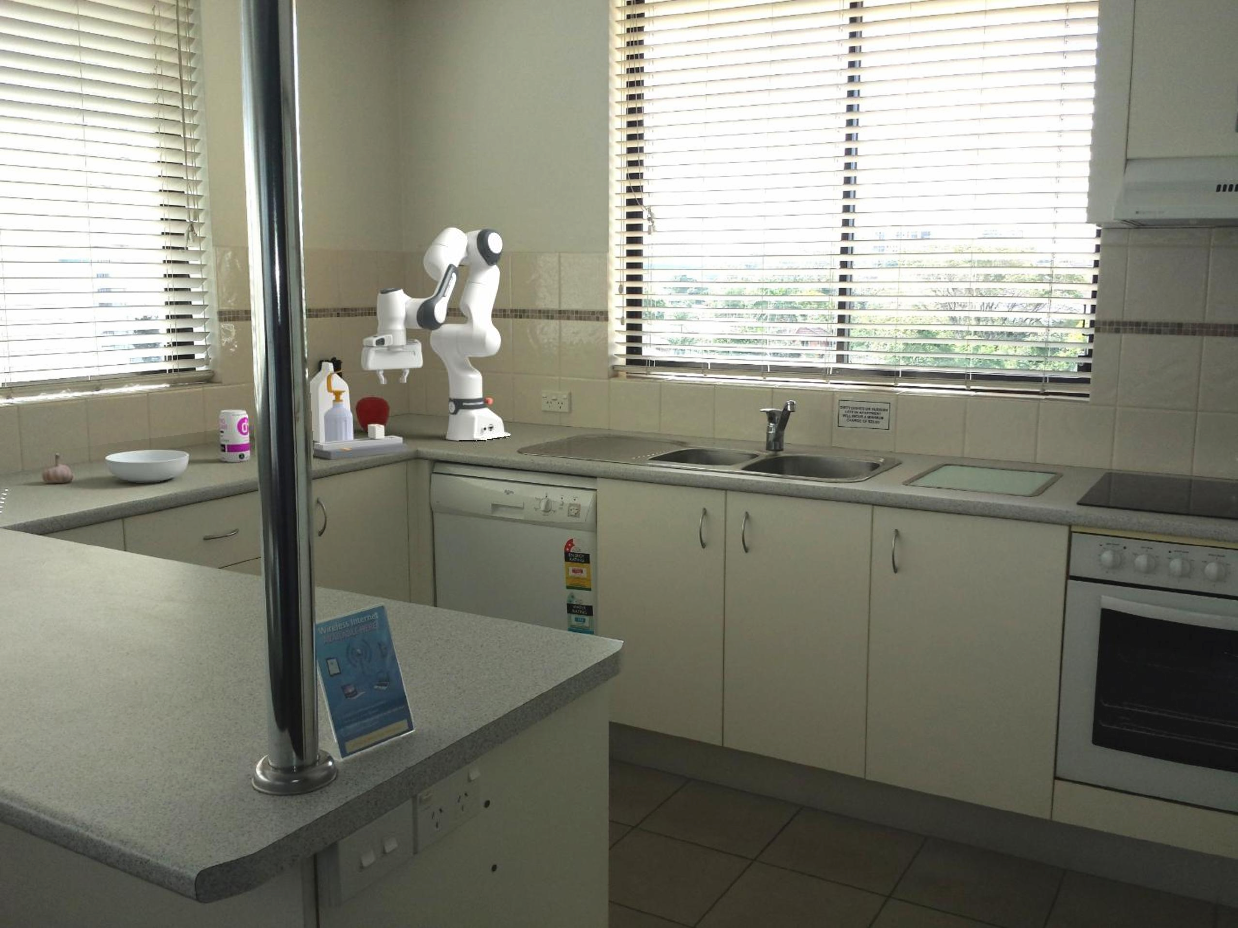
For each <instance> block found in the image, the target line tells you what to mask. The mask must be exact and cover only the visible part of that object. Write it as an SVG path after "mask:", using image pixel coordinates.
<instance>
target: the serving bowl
mask: <svg viewBox="0 0 1238 928" xmlns="http://www.w3.org/2000/svg"><path fill="white" fill-rule="evenodd" d="M189 457H190V454H189V453H187V452H185V451H181V450H173V449H172V450H171V449H145V450H142V449H141V450H134V451H133V450H132V451H123V452H117V453H116V452H115V453H112V454H109V455H107V456H105V458H104V461H105V465H106V468H107V469H108V471H109V472H110V473H111V474H112V476H114V477H115V478H117V479H120V480H123V481H128V482H131V483H134V482H135V484H153V482H154V483H160V481H161V482H164V480H165V481H167V480H170V479H173V478H175V477H177V476H180V475H181V474H182V473H183V472H184V471H185V469H186V468H187V466H188V464H189Z"/></svg>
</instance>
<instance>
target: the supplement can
mask: <svg viewBox="0 0 1238 928" xmlns="http://www.w3.org/2000/svg"><path fill="white" fill-rule="evenodd" d="M246 411H247V410H245V409H225V410H224V409H223V410H220V414H219V416H218V422H219V439H220V459H221V460H222V461H223V462H224V461H227V462H226V463H231V462H234V463H240V462H239V461H245V462H247V460H248V461H249V460H250V459H251V450H250V448H251V446H250V430H249V415H248V413H247V412H246Z"/></svg>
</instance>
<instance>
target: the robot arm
mask: <svg viewBox="0 0 1238 928" xmlns="http://www.w3.org/2000/svg"><path fill="white" fill-rule="evenodd" d="M503 251H504V242H503V238H502V236H501V234H500V233H499V232H498V231H497V230H496V229H491V228H482V229H478V230H471V231H468V232H465V233H464V232H463V231H462V230H460V229H458V228H457V227H447V228H445V229H444V230H442V232H441V231H440V233H439V234H438V235H437V237H436V238H435V239H434V241H433V242H431V244H430V246H429V248H428V249H427V251H426V252H425V255H424V257H423V260H422V261H423V262H422V263H423V267H424V271H426V273H427V274H428V276H429V277H430V278H431V279H433V280H435V281H436V282H437V286H436V287H435V289H434V292H433V295H431V296H429V297H426V298H417V297H416V298H413V297H411V296H408V295H407V294H406V293H405V292H404V290H403V288H401V287H398V286H397V287H386V288H383V289H381V290H380V291H379V292H378V294H377V301H376V318H377V321H378V322H377V323H378V326H377V333H376V334H373V335H371V336H369V337H366V338H364V339H363V340H362V345H363V346H364V347H363V348H362V350H361V356H360V357H361V359H360V360H361V361H360V364H361V368H362V369H363V370H364V371H375V372H376V375H377V377H378V378H379V383H380V384H381V385H387V383H388V382H387V378H386V377H384V375H383V374H384V370H399V369H401V371H402V372H403V373H402V375H401V376H400V377H399V378H398V379H399V383H400V384H406V383H407V378H408V376H409V373H410V369H421V368H422V366H423V365H424V364H423V363H424V361H423V353H422V343H421V342H420V340H419V339H416V338H413V339H410V338H409V339H408V338H407V329H412V330H413V329H415V330H416V329H417V330H418V329H420V330H428V331H431V333H430V337H429V343H430V347H431V349H432V350H433V351H434V353H436V354H437V355H438V356H439V357H440V359H441V361H443V364H444V365H445V368H446V371H447V374H448V382H449V385H448V387H449V397H448V413H449V417H448V418H449V419H448V428H447V432H446V436H445V439H446V440H449V441H450V440H451V441H459V440H476V441H475V442H478V441H477V440H486V441H488V440H487V439H492V438H497V437H504V436H510V435H511V433H509V432H507V431H505V425H504V422H503V420H502V418H501V417H500V416H499V415H497V413H494V412H493V411H492V410H490V409H489V407H488V405H492V404H493V403H494V400H492V398H491V397H488V398H485V397H484V396H483V376H482V374H481V371H479V369H476V368H475V367H473V366H472V364H471V362H470V359H469V357H470V358H471V357H472V358H485V357H491V356H494V355H496V354H497V353H498V352H499V350H500V348H501V345H502V344H501V343H502V339H501V334H500V332H499V330H498V329H497V328H496V326H494V324H493V322H492V312H493V308H494V307H493V306H494V305H495V300H496V297H497V293H498V288H499V284H500V277H501V276H500V275H501V273H500V269H499V267H498V266H497V264H498V263H499V262H500V261H501V259H502V257H501V256H502V254H503ZM466 266H469V275H468V277H467V280H466V282H465V285H464V289H463V291H462V294H461V297H460V301H459V309H460V312H461V313H462V314H463V315H464V316H465V317H466V318H467V321H466V323H446V324H444V323H445V321H446V319H447V318H446V317H447V313H448V308H449V306H450V303H451V301H452V298H453V296H454V294H455V290H456V288H457V285H458V282H459V278H460V272H459V269H458V267H466Z"/></svg>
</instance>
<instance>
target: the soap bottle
mask: <svg viewBox="0 0 1238 928" xmlns="http://www.w3.org/2000/svg"><path fill="white" fill-rule="evenodd" d="M343 371H344V370H343V369H340V370H337V371H334V373H331V374H329V375H328V376H327V391H328V392H329V393H333V395H335V400H333V407H332V408H331V409H329V410H328V411H327V412H326V413H325V415H324V430H325V442H331V441H341V440H352V439H354V425H353V424H354V422H353V421H354V420H353V417H354V416H353V413H352V411H351V410H350V411H349V410H348V409H346V408H344V407H343V400H341V399H340V395H342V393H344V392H346V391H340V390H332V387H331V376H332V375H333V374H335V373H336V374H337V373H341V372H343Z"/></svg>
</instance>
